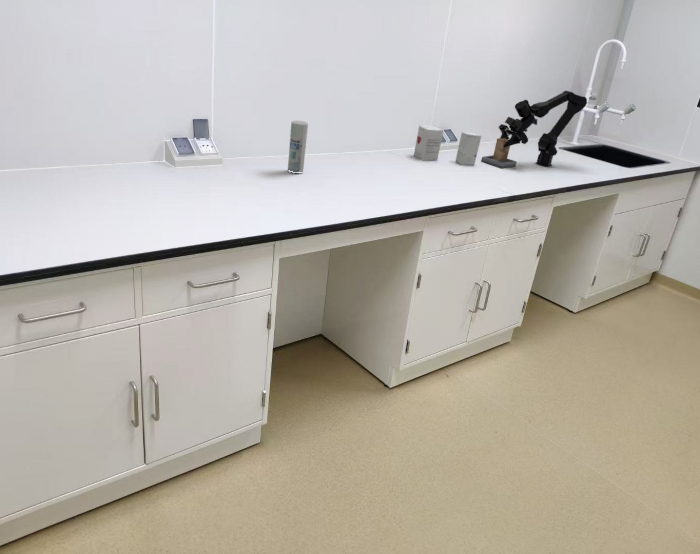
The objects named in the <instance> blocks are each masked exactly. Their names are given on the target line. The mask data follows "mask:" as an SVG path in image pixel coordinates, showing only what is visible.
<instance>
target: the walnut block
mask: <svg viewBox="0 0 700 554" xmlns="http://www.w3.org/2000/svg"><path fill="white" fill-rule="evenodd" d="M508 140H509V139H508ZM508 140H507V139H502V138H500V137H499V138H496V143H495V147H494V149H493V150H494V151H493V158H494V159H496V160H498V161H507V159H508V156H509V152H510V148H511V146H508V147H505V148H504V145H505V143H506V142H507V141H508Z"/></svg>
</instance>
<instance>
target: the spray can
mask: <svg viewBox="0 0 700 554" xmlns="http://www.w3.org/2000/svg"><path fill="white" fill-rule="evenodd" d="M308 127H309V123H308V122H306V121H303V120H292V121H291V125H290V136H289V137H290V139H289V151H288V162H287V171H288V170H290V171H293V172H303V173H304V167H305V155H306V148H307V137H308Z"/></svg>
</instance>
